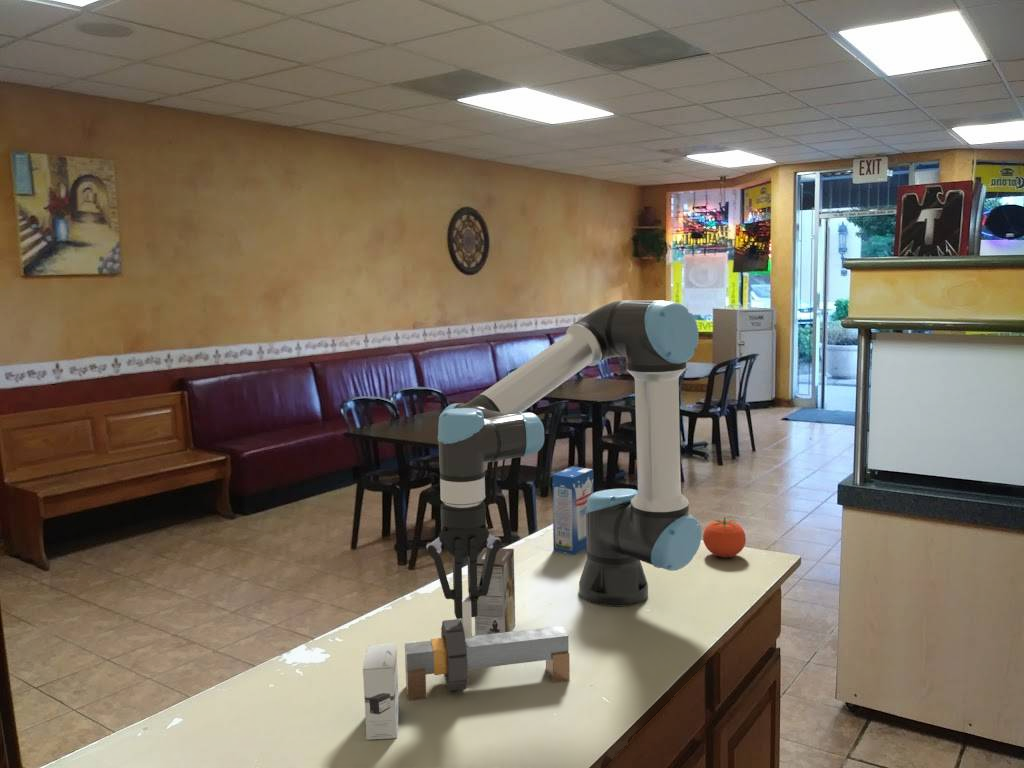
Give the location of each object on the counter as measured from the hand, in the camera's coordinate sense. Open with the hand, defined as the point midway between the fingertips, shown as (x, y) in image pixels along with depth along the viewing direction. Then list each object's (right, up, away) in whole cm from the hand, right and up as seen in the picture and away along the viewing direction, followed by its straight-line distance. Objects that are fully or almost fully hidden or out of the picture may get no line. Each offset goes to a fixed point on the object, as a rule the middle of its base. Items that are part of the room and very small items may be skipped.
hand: (466, 634), depth 138 cm
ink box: (-13, -11, -10) cm, 20 cm away
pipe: (+4, -9, +2) cm, 10 cm away
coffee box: (+5, -7, +22) cm, 23 cm away
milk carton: (+24, +1, +70) cm, 74 cm away
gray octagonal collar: (-2, -9, +1) cm, 10 cm away
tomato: (+60, 0, +62) cm, 86 cm away
